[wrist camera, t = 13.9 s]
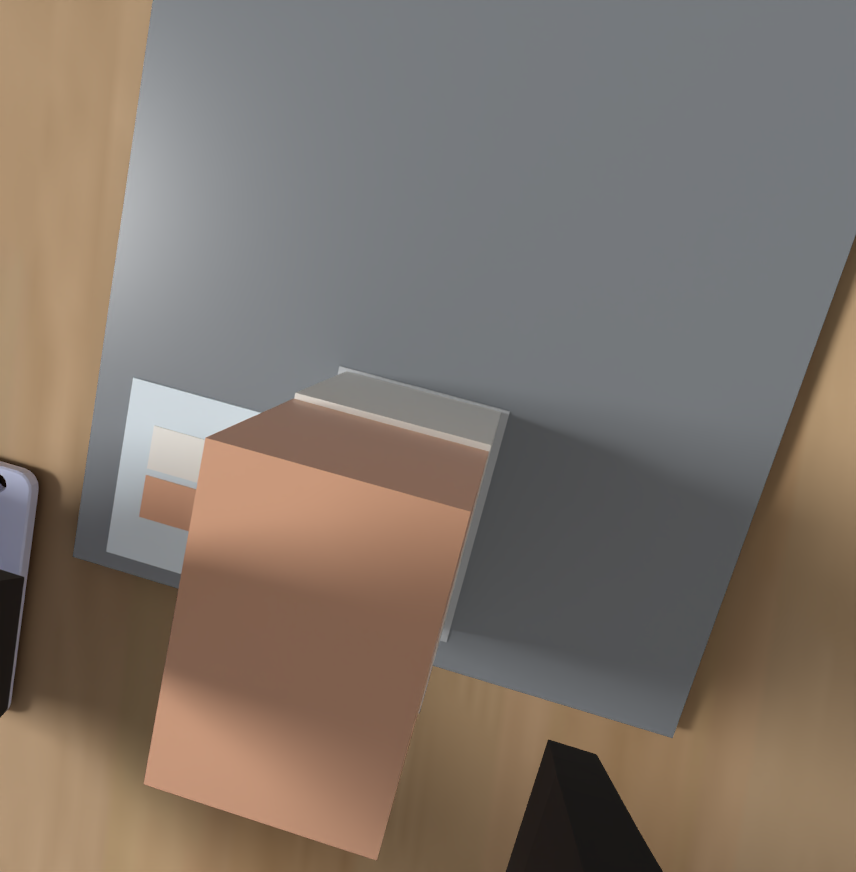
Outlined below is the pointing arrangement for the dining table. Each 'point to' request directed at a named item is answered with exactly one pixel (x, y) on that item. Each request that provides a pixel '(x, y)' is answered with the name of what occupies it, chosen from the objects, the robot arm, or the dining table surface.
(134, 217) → the baseplate
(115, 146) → the dining table surface
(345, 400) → the off-white brick
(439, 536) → the terracotta brick
